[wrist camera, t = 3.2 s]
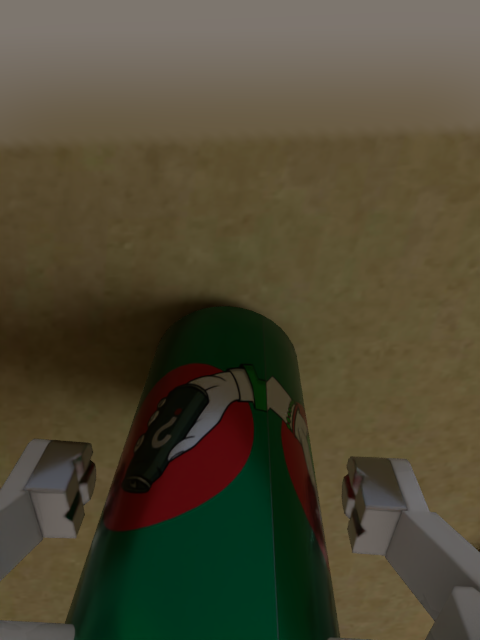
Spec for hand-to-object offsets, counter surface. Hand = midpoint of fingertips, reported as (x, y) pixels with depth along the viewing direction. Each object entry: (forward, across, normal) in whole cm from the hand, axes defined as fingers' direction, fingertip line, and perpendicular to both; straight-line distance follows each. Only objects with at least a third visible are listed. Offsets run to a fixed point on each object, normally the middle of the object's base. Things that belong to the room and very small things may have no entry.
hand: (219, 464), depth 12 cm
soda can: (+5, 0, 0) cm, 5 cm away
